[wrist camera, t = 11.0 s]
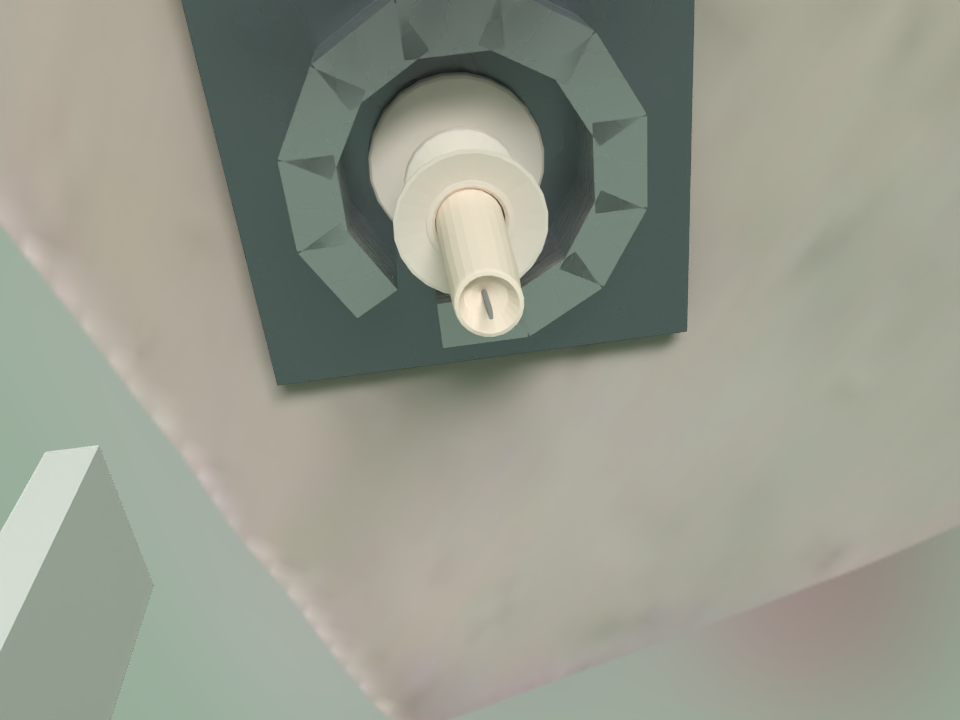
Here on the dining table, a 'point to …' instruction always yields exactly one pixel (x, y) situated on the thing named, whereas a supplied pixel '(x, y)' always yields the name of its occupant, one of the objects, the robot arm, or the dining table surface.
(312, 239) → the ring stand
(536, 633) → the dining table surface
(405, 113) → the candle
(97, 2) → the dining table surface
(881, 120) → the dining table surface
